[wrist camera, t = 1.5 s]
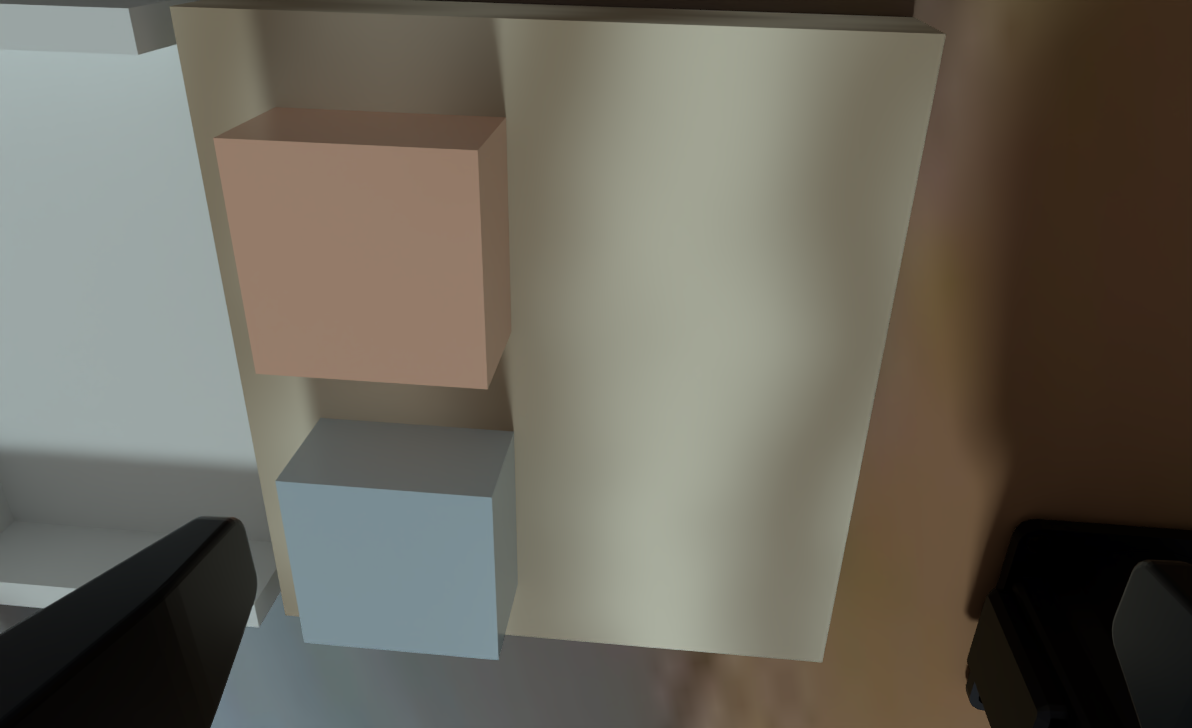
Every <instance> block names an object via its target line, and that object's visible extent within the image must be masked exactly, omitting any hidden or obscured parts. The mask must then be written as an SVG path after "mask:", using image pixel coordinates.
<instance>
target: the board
mask: <svg viewBox="0 0 1192 728" xmlns="http://www.w3.org/2000/svg"><path fill="white" fill-rule="evenodd" d="M169 7H170V12H171V17H172V22H173V28H174V33H175V38H176V43H177V49H178V54H179V59H180V64H181V69H182V75H183V80H184V85H185V90H186V96H187V101H188V106H189V111H190V117H191V122H192V127H193V132H194V138H195V143H196V148H197V153H198V159H199V164H200V169H201V174H202V180H203V185H204V190H205V195H206V201H207V206H208V211H209V216H210V222H211V227H212V232H213V237H214V243H215V248H216V253H217V258H218V264H219V269H220V274H221V279H222V284H223V290H224V295H225V300H226V305H227V311H228V316H229V321H230V326H231V332H232V337H233V342H234V347H235V353H236V358H237V363H238V368H239V374H240V379H241V384H242V389H243V395H244V400H245V405H246V410H247V416H248V421H249V426H250V431H251V437H252V442H253V447H254V452H255V458H256V463H257V468H258V473H259V479H260V484H261V489H262V494H263V500H264V505H265V510H266V515H267V520H268V526H269V531H270V536H271V541H272V547H273V552H274V557H275V562H276V568H277V573H278V578H279V583H280V589H281V594H282V599H283V604H284V610H285V615H288V616H299V610H298V604H297V599H296V593H295V588H294V582H293V577H292V571H291V566H290V560H289V555H288V549H287V544H286V538H285V533H284V527H283V522H282V516H281V510H280V505H279V499H278V494H277V488H276V483H275V481H276V479H277V478H278V476H279V475H280V474H281V472H282V471H283V469H284V468H285V467H286V465H287V464H288V463H289V461H290V460H291V458H292V457H293V456H294V454H295V453H296V451H297V450H298V449H299V447H300V446H301V444H302V443H303V442H304V440H305V439H306V437H307V436H308V435H309V433H310V432H311V430H312V429H313V428H314V426H315V425H316V423H317V422H318V421H319V419H320V418H330V419H344V420H358V421H372V422H386V423H400V424H415V425H429V426H443V427H457V428H471V429H485V430H500V431H514V452H515V492H516V531H517V571H518V585H517V589H516V593H515V597H514V601H513V605H512V609H511V613H510V617H509V621H508V625H507V629H506V633H505V635H516V636H528V637H539V638H550V639H562V640H573V641H585V642H596V643H607V644H619V645H630V646H641V647H653V648H664V649H676V650H687V651H698V652H710V653H721V654H733V655H744V656H755V657H767V658H778V659H789V660H801V661H812V662H822V661H823V656H824V650H825V645H826V640H827V635H828V630H829V625H830V620H831V615H832V610H833V605H834V600H835V595H836V590H837V585H838V579H839V574H840V569H841V564H842V559H843V554H844V549H845V544H846V539H847V534H848V529H849V524H850V519H851V513H852V508H853V503H854V498H855V493H856V488H857V483H858V478H859V473H860V468H861V463H862V458H863V453H864V447H865V442H866V437H867V432H868V427H869V422H870V417H871V412H872V407H873V402H874V397H875V392H876V387H877V382H878V376H879V371H880V366H881V361H882V356H883V351H884V346H885V341H886V336H887V331H888V326H889V321H890V316H891V310H892V305H893V300H894V295H895V290H896V285H897V280H898V275H899V270H900V265H901V260H902V255H903V250H904V244H905V239H906V234H907V229H908V224H909V219H910V214H911V209H912V204H913V199H914V194H915V189H916V184H917V179H918V173H919V168H920V163H921V158H922V153H923V148H924V143H925V138H926V133H927V128H928V123H929V118H930V113H931V107H932V102H933V97H934V92H935V87H936V82H937V77H938V72H939V67H940V62H941V57H942V52H943V47H944V41H945V36H946V34H945V33H943V32H941V31H939V30H937V29H935V28H933V27H931V26H929V25H928V24H926V23H924V22H922V21H920V20H918V19H916V18H914V17H891V16H862V15H833V14H804V13H774V12H745V11H716V10H687V9H658V8H629V7H600V6H571V5H541V4H512V3H483V2H454V1H425V0H199V1H194V2H189V3H184V4H179V5H174V6H169ZM275 107H283V108H306V109H329V110H352V111H374V112H397V113H420V114H443V115H465V116H488V117H506V134H507V174H508V213H509V253H510V293H511V334H510V337H509V339H508V342H507V344H506V346H505V349H504V351H503V354H502V356H501V358H500V361H499V363H498V366H497V368H496V370H495V373H494V375H493V378H492V380H491V382H490V385H489V387H488V389H473V388H459V387H444V386H429V385H414V384H399V383H384V382H369V381H354V380H339V379H325V378H310V377H295V376H280V375H265V374H256V372H255V367H254V361H253V356H252V350H251V345H250V339H249V333H248V328H247V322H246V317H245V311H244V306H243V300H242V295H241V289H240V284H239V278H238V273H237V267H236V262H235V256H234V251H233V245H232V239H231V234H230V228H229V223H228V217H227V212H226V206H225V201H224V195H223V190H222V184H221V179H220V173H219V168H218V162H217V157H216V151H215V145H214V140H213V138H214V137H216V136H218V135H220V134H222V133H224V132H226V131H228V130H230V129H232V128H234V127H236V126H238V125H240V124H242V123H244V122H246V121H248V120H250V119H252V118H254V117H256V116H258V115H260V114H262V113H264V112H266V111H269V110H271V109H273V108H275Z"/></svg>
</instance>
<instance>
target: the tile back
mask: <svg viewBox="0 0 1192 728" xmlns="http://www.w3.org/2000/svg"><path fill="white" fill-rule="evenodd" d="M275 483H276V488H277V494H278V499H279V505H280V510H281V516H282V522H283V527H284V533H285V538H286V544H287V549H288V555H289V560H290V566H291V571H292V577H293V582H294V588H295V593H296V599H297V604H298V610H299V616H300V621H301V627H302V632H303V638H304V643H314V644H325V645H336V646H347V647H359V648H370V649H381V650H392V651H403V652H414V653H425V654H436V655H447V656H458V657H470V658H481V659H492V660H499V656H500V652H501V649H502V645H503V641H504V637H505V633H506V629H507V625H508V621H509V617H510V613H511V609H512V605H513V601H514V597H515V593H516V589H517V585H518V571H517V531H516V492H515V452H514V431H500V430H485V429H471V428H457V427H443V426H429V425H415V424H400V423H386V422H372V421H358V420H344V419H330V418H320V419H319V421H318V422H317V423H316V425H315V426H314V428H313V429H312V430H311V432H310V433H309V435H308V436H307V437H306V439H305V440H304V442H303V443H302V444H301V446H300V447H299V449H298V450H297V451H296V453H295V454H294V456H293V457H292V458H291V460H290V461H289V463H288V464H287V465H286V467H285V468H284V469H283V471H282V472H281V474H280V475H279V476H278V478H277V479H276V481H275Z"/></svg>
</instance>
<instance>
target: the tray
mask: <svg viewBox="0 0 1192 728" xmlns="http://www.w3.org/2000/svg"><path fill="white" fill-rule="evenodd" d="M194 1H199V0H0V604H2V605H14V606H25V607H36V608H45V607H47V606H49V605H50V604H52V603H54V602H55V601H57V600H59V599H60V598H62V597H64V596H65V595H67V594H69V593H70V592H72V591H74V590H75V589H77V588H79V587H80V586H82V585H84V584H85V583H87V582H89V581H91V580H92V579H94V578H96V577H97V576H99V575H101V574H102V573H104V572H106V571H107V570H109V569H111V568H112V567H114V566H116V565H117V564H119V563H121V562H122V561H124V560H126V559H127V558H129V557H131V556H132V555H134V554H136V553H138V552H139V551H141V550H143V549H144V548H146V547H148V546H149V545H151V544H153V543H154V542H156V541H158V540H159V539H161V538H163V537H164V536H166V535H168V534H169V533H171V532H173V531H174V530H176V529H178V528H180V527H181V526H183V525H185V524H186V523H188V522H190V521H191V520H193V519H195V518H197V517H200V516H226V517H235V518H237V519H239V520H240V521H241V522H242V523H243V524H244V527H245V530H246V533H247V537H248V541H249V545H250V549H251V553H252V557H253V561H254V565H255V569H256V574H257V583H258V585H257V594H256V599H255V602H254V605H253V608H252V611H251V614H250V616H249V619H248V622H247V625H246V626H249V627H260V625H261V623H262V622H263V620H264V618H265V617H266V615H267V613H268V612H269V610H270V608H271V607H272V605H273V603H274V601H275V600H276V598H277V596H278V595H279V593H280V591H281V589H280V583H279V578H278V573H277V568H276V562H275V557H274V552H273V547H272V541H271V536H270V531H269V526H268V520H267V515H266V510H265V505H264V500H263V494H262V489H261V484H260V479H259V473H258V468H257V463H256V458H255V452H254V447H253V442H252V437H251V431H250V426H249V421H248V416H247V410H246V405H245V400H244V395H243V389H242V384H241V379H240V374H239V368H238V363H237V358H236V353H235V347H234V342H233V337H232V332H231V326H230V321H229V316H228V311H227V305H226V300H225V295H224V290H223V284H222V279H221V274H220V269H219V264H218V258H217V253H216V248H215V243H214V237H213V232H212V227H211V222H210V216H209V211H208V206H207V201H206V195H205V190H204V185H203V180H202V174H201V169H200V164H199V159H198V153H197V148H196V143H195V138H194V132H193V127H192V122H191V117H190V111H189V106H188V101H187V96H186V90H185V85H184V80H183V75H182V69H181V64H180V59H179V54H178V49H177V43H176V38H175V33H174V28H173V22H172V17H171V12H170V7H169V6H174V5H179V4H184V3H189V2H194Z"/></svg>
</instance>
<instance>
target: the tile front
mask: <svg viewBox="0 0 1192 728" xmlns="http://www.w3.org/2000/svg"><path fill="white" fill-rule="evenodd" d="M213 140H214V145H215V151H216V157H217V162H218V168H219V173H220V179H221V184H222V190H223V195H224V201H225V206H226V212H227V217H228V223H229V228H230V234H231V239H232V245H233V251H234V256H235V262H236V267H237V273H238V278H239V284H240V289H241V295H242V300H243V306H244V311H245V317H246V322H247V328H248V333H249V339H250V345H251V350H252V356H253V361H254V367H255V372H256V374H265V375H280V376H295V377H310V378H325V379H339V380H354V381H369V382H384V383H399V384H414V385H429V386H444V387H459V388H473V389H488V387H489V385H490V382H491V380H492V378H493V375H494V373H495V370H496V368H497V366H498V363H499V361H500V358H501V356H502V354H503V351H504V349H505V346H506V344H507V342H508V339H509V337H510V334H511V293H510V253H509V213H508V174H507V134H506V117H488V116H465V115H443V114H420V113H397V112H374V111H352V110H329V109H306V108H283V107H275V108H273V109H271V110H269V111H266V112H264V113H262V114H260V115H258V116H256V117H254V118H252V119H250V120H248V121H246V122H244V123H242V124H240V125H238V126H236V127H234V128H232V129H230V130H228V131H226V132H224V133H222V134H220V135H218V136H216V137H214V138H213Z"/></svg>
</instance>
